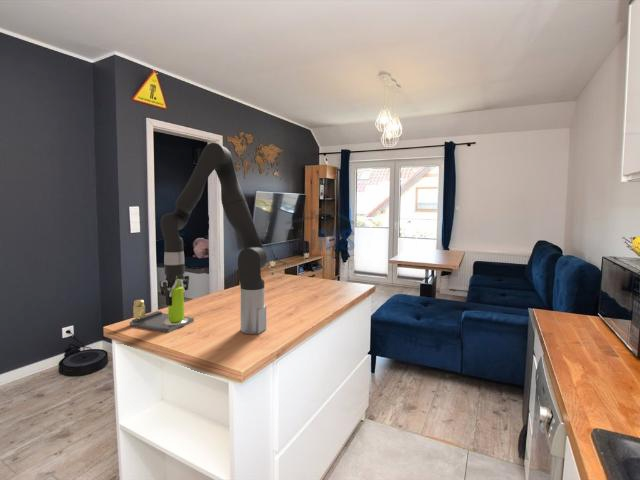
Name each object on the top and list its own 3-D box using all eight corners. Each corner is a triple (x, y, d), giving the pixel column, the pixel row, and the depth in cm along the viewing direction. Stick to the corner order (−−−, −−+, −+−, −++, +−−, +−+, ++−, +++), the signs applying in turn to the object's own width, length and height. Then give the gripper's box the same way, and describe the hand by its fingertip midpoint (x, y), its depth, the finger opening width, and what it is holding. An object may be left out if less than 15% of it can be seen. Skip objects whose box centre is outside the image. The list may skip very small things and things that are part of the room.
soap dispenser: (166, 318, 142) (164, 270, 140) (184, 316, 144) (183, 269, 142) (165, 322, 136) (163, 273, 134) (184, 320, 139) (182, 272, 137)
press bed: (195, 321, 145) (195, 316, 145) (170, 332, 132) (169, 327, 132) (157, 315, 152) (157, 310, 152) (129, 325, 139) (129, 319, 139)
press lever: (146, 316, 142) (145, 300, 141) (139, 319, 138) (138, 302, 138) (139, 315, 143) (139, 299, 142) (132, 318, 140) (131, 301, 139)
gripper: (168, 266, 130) (169, 309, 132) (194, 260, 144) (195, 300, 145) (153, 264, 133) (154, 307, 135) (180, 259, 146) (180, 298, 148)
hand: (175, 303), depth 140 cm, fingers closed on soap dispenser, 6 cm apart
